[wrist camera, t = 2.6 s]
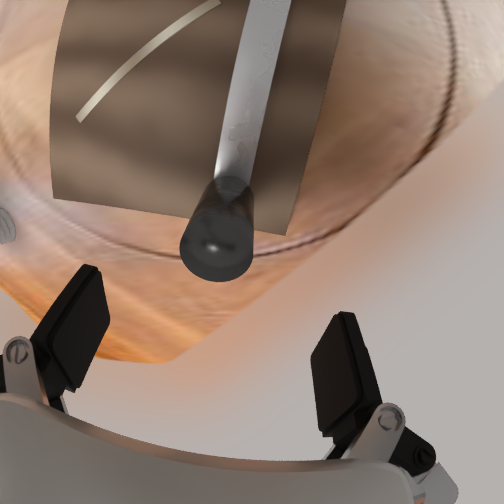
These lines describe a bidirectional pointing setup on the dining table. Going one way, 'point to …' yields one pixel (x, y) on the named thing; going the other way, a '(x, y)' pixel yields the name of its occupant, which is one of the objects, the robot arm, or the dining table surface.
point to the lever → (236, 154)
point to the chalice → (6, 228)
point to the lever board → (179, 103)
